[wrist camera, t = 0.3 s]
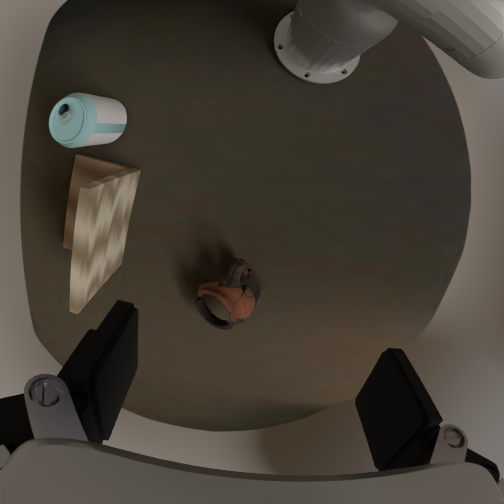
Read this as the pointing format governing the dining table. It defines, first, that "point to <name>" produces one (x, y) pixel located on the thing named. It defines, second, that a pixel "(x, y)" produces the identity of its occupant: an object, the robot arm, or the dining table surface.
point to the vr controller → (231, 294)
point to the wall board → (97, 223)
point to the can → (87, 120)
